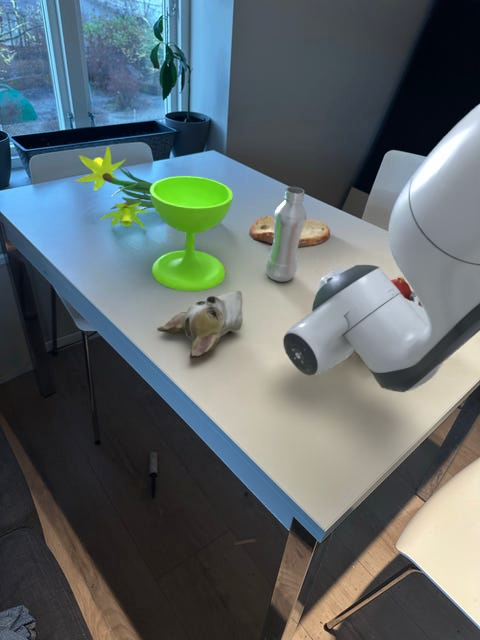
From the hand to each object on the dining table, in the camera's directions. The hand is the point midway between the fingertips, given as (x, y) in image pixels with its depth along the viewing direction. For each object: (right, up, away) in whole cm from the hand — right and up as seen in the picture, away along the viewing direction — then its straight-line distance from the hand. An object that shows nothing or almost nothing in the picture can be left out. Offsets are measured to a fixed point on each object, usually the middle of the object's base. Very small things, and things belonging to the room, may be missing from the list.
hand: (399, 288), depth 82 cm
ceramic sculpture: (-35, -9, -2) cm, 37 cm away
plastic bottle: (-21, +4, +17) cm, 27 cm away
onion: (-1, -4, +3) cm, 5 cm away
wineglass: (-40, +5, +15) cm, 43 cm away
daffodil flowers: (-52, +20, +34) cm, 65 cm away
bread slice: (-16, +16, +34) cm, 41 cm away
